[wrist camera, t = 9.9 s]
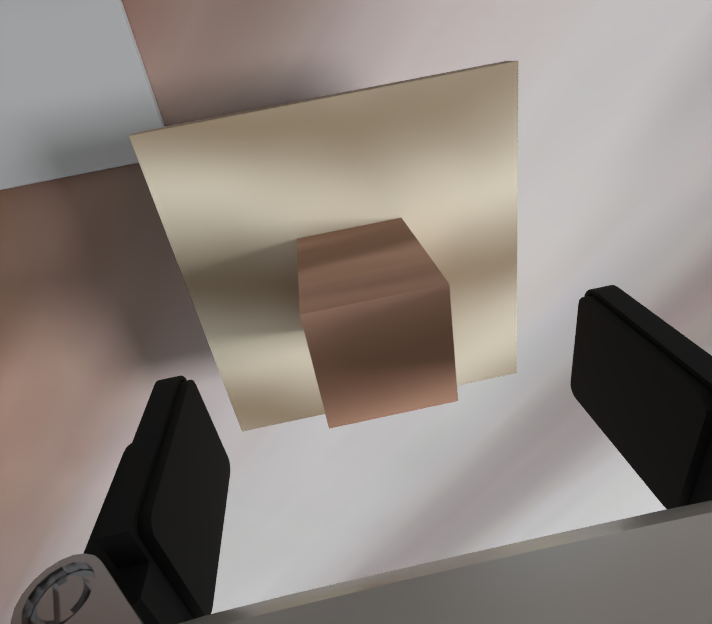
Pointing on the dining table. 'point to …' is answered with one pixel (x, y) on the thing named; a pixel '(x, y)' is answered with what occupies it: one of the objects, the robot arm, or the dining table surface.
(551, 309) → the dining table surface
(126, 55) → the mat
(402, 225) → the lid
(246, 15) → the dining table surface
